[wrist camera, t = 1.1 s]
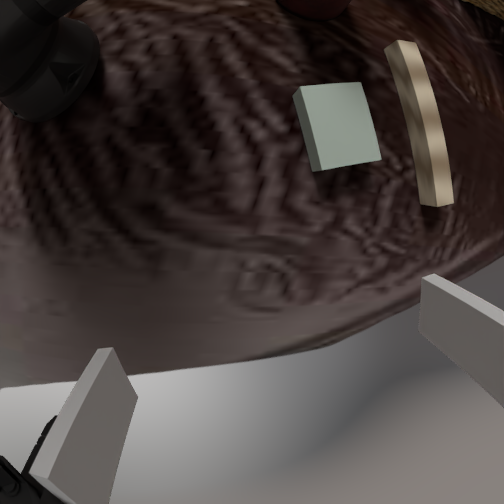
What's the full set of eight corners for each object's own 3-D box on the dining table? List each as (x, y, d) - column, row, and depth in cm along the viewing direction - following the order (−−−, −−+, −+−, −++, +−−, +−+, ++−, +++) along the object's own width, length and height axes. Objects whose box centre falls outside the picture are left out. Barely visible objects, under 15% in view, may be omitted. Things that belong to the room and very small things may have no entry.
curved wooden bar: (383, 49, 30) (397, 39, 26) (401, 51, 30) (415, 42, 26) (420, 204, 36) (437, 206, 32) (436, 200, 36) (453, 203, 32)
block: (291, 96, 31) (299, 86, 27) (347, 91, 32) (360, 82, 28) (311, 172, 34) (322, 170, 30) (366, 161, 34) (381, 159, 30)
